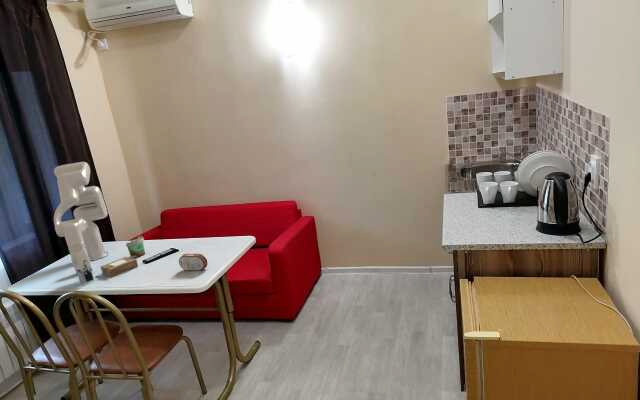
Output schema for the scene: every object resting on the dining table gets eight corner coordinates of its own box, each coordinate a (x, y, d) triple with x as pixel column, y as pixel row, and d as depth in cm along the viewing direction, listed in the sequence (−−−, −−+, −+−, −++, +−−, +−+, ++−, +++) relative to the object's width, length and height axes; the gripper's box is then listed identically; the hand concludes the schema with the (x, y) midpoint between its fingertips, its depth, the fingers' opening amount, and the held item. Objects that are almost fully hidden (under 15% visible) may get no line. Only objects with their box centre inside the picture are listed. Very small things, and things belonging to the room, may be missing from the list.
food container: (139, 259, 258) (135, 242, 256) (130, 259, 260) (125, 243, 257) (151, 251, 270) (147, 235, 268) (142, 251, 271) (138, 235, 269)
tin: (209, 268, 226) (205, 252, 224) (205, 271, 223) (202, 255, 221) (183, 269, 231) (180, 253, 229) (180, 271, 228) (176, 255, 226)
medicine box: (76, 275, 248) (72, 260, 245) (76, 273, 251) (72, 258, 249) (92, 271, 251) (88, 256, 249) (92, 268, 255) (88, 254, 253)
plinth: (102, 273, 243) (100, 266, 242) (127, 263, 254) (125, 256, 253) (113, 277, 236) (110, 269, 235) (138, 266, 246) (136, 259, 245)
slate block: (80, 282, 236) (76, 271, 234) (89, 278, 239) (86, 268, 238) (84, 284, 232) (80, 273, 231) (94, 280, 236) (90, 269, 234)
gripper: (62, 247, 234) (72, 279, 238) (76, 251, 223) (86, 284, 227) (77, 242, 240) (86, 273, 244) (91, 246, 228) (101, 278, 232)
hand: (86, 279), depth 235 cm, fingers open, 7 cm apart
